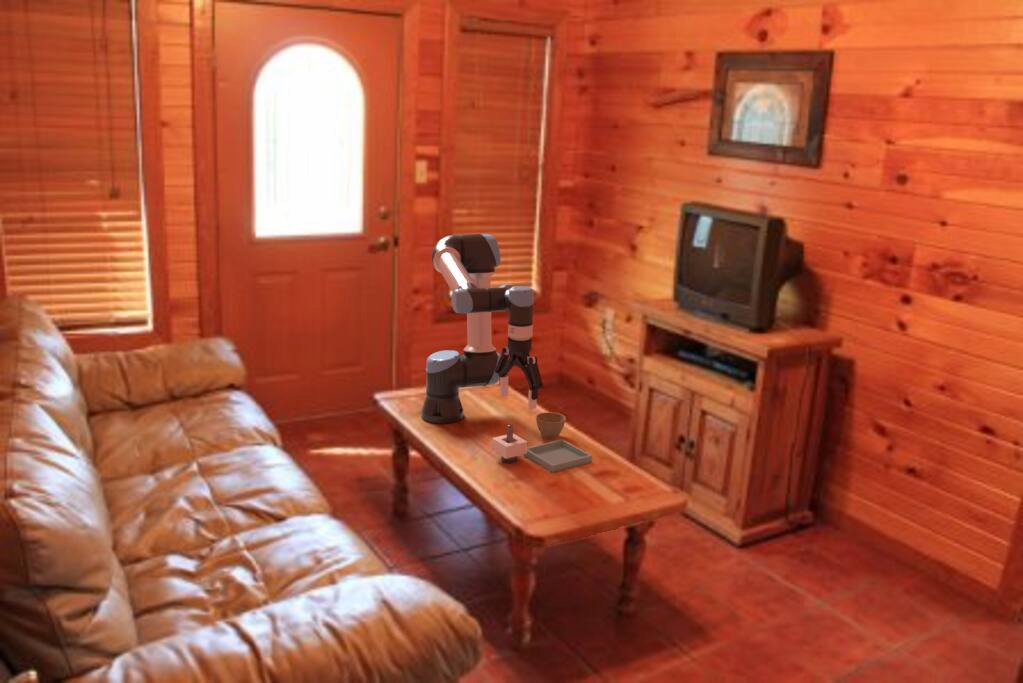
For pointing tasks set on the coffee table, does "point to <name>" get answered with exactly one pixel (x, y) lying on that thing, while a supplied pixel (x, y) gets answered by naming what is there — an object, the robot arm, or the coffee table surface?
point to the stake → (509, 440)
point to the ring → (509, 446)
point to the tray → (558, 455)
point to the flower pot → (550, 424)
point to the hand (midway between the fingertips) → (517, 402)
